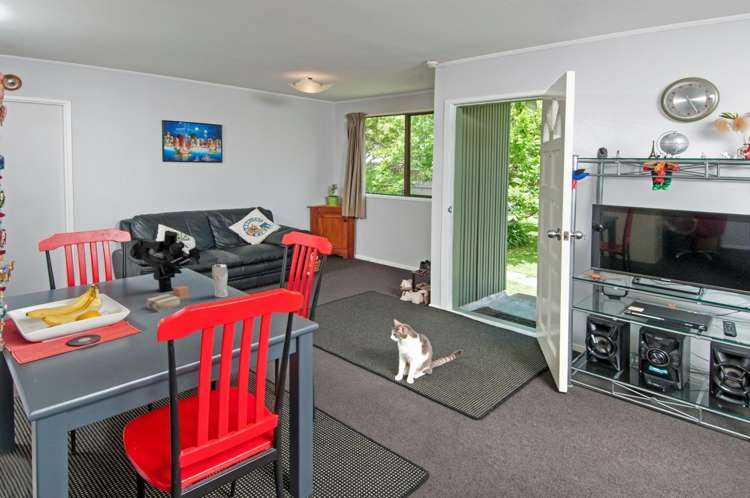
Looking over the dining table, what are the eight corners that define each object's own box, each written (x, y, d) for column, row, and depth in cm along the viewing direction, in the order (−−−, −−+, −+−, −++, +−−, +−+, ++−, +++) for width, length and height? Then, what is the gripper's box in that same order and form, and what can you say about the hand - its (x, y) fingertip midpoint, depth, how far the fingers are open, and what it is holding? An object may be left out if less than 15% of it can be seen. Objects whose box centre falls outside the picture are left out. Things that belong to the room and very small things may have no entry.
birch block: (147, 307, 214) (146, 298, 213) (168, 302, 222) (167, 293, 221) (159, 311, 208) (158, 303, 207) (180, 306, 216) (179, 297, 215)
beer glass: (224, 298, 228) (222, 267, 225) (211, 297, 229) (208, 266, 226) (231, 294, 234) (229, 264, 231) (218, 293, 236) (216, 263, 233)
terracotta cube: (174, 297, 229) (173, 287, 228) (183, 295, 233) (182, 285, 232) (179, 299, 226) (179, 289, 225) (189, 297, 230) (188, 287, 229)
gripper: (150, 249, 221) (168, 263, 213) (186, 233, 233) (204, 245, 224) (156, 268, 227) (173, 282, 219) (191, 251, 239) (209, 264, 231)
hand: (190, 268), depth 223 cm, fingers open, 9 cm apart
